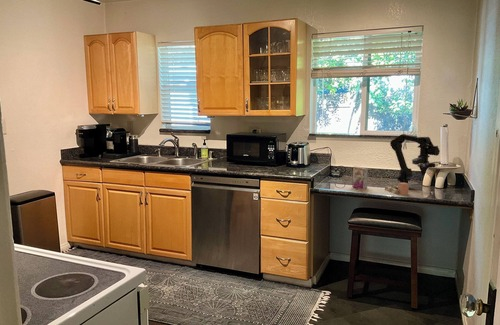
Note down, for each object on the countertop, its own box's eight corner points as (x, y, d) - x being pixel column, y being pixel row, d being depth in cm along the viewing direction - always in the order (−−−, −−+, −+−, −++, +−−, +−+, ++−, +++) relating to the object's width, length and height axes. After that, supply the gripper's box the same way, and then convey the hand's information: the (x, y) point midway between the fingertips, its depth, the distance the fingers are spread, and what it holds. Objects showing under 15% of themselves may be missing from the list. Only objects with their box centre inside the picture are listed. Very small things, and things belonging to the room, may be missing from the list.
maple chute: (384, 190, 303) (385, 185, 302) (394, 190, 305) (394, 185, 304) (397, 195, 287) (397, 190, 287) (407, 194, 289) (407, 189, 289)
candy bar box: (352, 187, 315) (352, 166, 313) (356, 186, 318) (357, 166, 315) (362, 189, 306) (363, 168, 303) (367, 189, 308) (368, 168, 306)
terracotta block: (397, 193, 289) (398, 182, 288) (403, 193, 291) (404, 182, 289) (402, 195, 285) (402, 184, 283) (408, 194, 286) (408, 183, 285)
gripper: (406, 152, 299) (405, 173, 302) (422, 156, 281) (421, 177, 284) (419, 152, 302) (418, 172, 304) (436, 155, 284) (435, 177, 286)
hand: (422, 175), depth 295 cm, fingers closed
